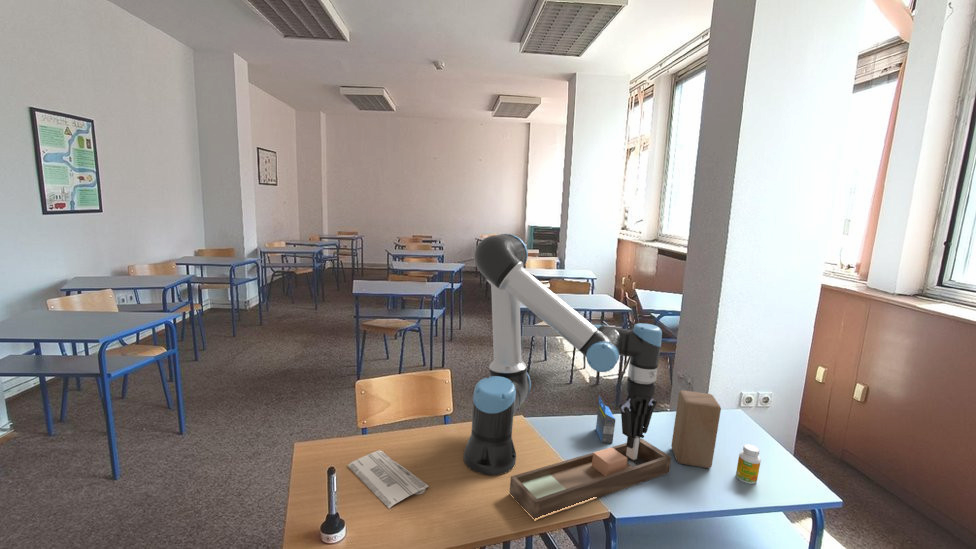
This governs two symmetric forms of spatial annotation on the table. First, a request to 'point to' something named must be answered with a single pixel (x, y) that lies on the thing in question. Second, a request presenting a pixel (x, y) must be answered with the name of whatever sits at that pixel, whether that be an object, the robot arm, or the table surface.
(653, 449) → the channel
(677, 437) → the block
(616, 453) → the clay block
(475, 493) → the table surface
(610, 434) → the blue retail box
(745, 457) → the supplement bottle
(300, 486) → the table surface
